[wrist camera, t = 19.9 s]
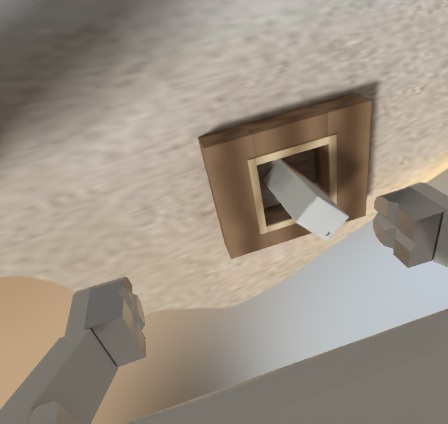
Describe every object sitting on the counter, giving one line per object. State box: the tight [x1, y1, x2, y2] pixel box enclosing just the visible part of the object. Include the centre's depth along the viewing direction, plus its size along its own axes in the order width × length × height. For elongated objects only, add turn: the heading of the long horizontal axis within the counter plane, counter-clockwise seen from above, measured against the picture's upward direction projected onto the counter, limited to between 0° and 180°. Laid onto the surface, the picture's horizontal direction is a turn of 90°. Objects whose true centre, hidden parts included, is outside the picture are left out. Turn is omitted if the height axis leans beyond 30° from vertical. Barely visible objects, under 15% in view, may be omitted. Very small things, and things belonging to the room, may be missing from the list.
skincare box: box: [263, 158, 349, 241], centre depth 44 cm, size 6×4×12 cm
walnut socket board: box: [198, 94, 372, 259], centre depth 47 cm, size 22×18×4 cm
